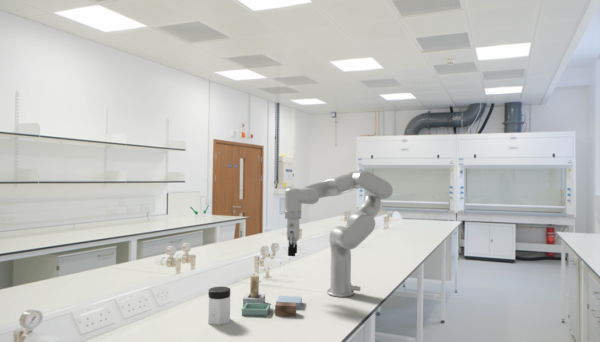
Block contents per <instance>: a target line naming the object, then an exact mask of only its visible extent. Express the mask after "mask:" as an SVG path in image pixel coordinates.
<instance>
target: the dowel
mask: <svg viewBox="0 0 600 342" xmlns="http://www.w3.org/2000/svg"><path fill="white" fill-rule="evenodd" d="M259 277H260V276H259V275H250V285H249V287H250V290H249V291H250V292H249V293H250V298H258V295H259V294H260V293H259V292H260V291H259V288H260V287H259V286H260V285H259V284H260V283H259V282H260V281H259Z"/></svg>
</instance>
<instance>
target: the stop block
mask: <svg viewBox="0 0 600 342" xmlns="http://www.w3.org/2000/svg"><path fill="white" fill-rule="evenodd" d="M274 316H276V317H279V316H280V317H281V316H282V317H296V316H297V309H296V303H281V302H277V303H275V305H274Z"/></svg>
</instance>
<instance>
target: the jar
mask: <svg viewBox="0 0 600 342" xmlns="http://www.w3.org/2000/svg"><path fill="white" fill-rule="evenodd" d="M207 321H208V322H207V323H208V324H210V325H215V324H217V326H221V324H222V325H225V323H226V324H229V323H230V322H231V288H230V287H228V286H214V287H211V288H209V289H208V319H207Z"/></svg>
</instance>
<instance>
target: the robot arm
mask: <svg viewBox="0 0 600 342" xmlns="http://www.w3.org/2000/svg"><path fill="white" fill-rule="evenodd" d="M359 189H364V190H365V200H364V201H363V203H362V204H361V205H360V206H359V207H357V208H356V209H355V211H354V212H352V213H351V214H350V215H349V216H348V218H347V220H346V225H347V227H345V226H341V225H339V226H335V227H334V228H332V229H331V231H330V233H329V245H330V288H328V289H327V290H326V294H328V295H330V296H333V297H338V298H345V297H346V298H348V297H353V296H354V294H355V291H358V292H361V286H358V285H352V282H351V281H352V278H351V277H352V275H351V274H352V252H351V250H353V249H356V248H357V247H358V246H359V245H361V243H363V242H364V241H365V240H366V239H367V238H368V237H369V236H370V235H371V234H372V233H373V231H374V230H375V227H376V220H375V217H376V216H377V215H378V214H379V212H380V210H381V204H382V200H386V199H389V198H391V196H392V195H393V191H394V189H393V186H392V184H391V182H388V181H387V180H385V179H383V178H382V177H380V176H378V175H376V174H374V173H372V172H370V171H368V170H353V171H351V172H349V173H345V174H342V175H339V176H335V177H333V178H329V179H326V180H323V181H320V182H316V183H312V184H310V185H307V186H304V187H301V188H292V187H289V188H286V189H285V192H284V219H285V220H287V221H286V223H287V224H286V225H287V226H286V240H287V241H288V244H287V245H288V246H287V256H288V257H295V256H296V254H297V253H298V241H299V240H300V235H301V234H300V220H302V204H305V205H314V204H317V203H318V202H319V201H320V199H323V198H327V197H336V196H341V195H344V194H346V193H349V192H352V191H354V190H355V191H356V190H359Z"/></svg>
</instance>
